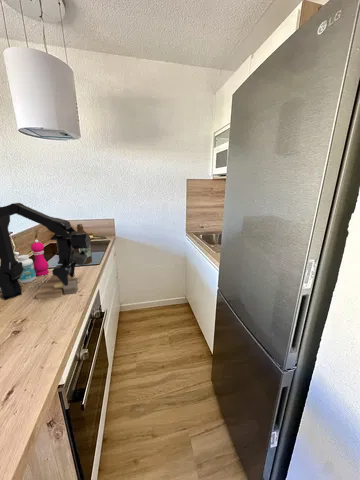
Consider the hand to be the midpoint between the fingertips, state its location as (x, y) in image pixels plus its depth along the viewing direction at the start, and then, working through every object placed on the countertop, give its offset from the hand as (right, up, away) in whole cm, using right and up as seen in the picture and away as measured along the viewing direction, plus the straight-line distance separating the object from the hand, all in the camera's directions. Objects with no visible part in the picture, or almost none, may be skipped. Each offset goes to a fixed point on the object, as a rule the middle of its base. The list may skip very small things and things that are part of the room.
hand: (69, 281), depth 96 cm
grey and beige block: (-2, -6, +1) cm, 6 cm away
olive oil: (-11, +4, +39) cm, 41 cm away
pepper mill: (-27, 0, +21) cm, 34 cm away
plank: (-10, -4, +7) cm, 13 cm away
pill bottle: (-29, -3, +13) cm, 32 cm away
